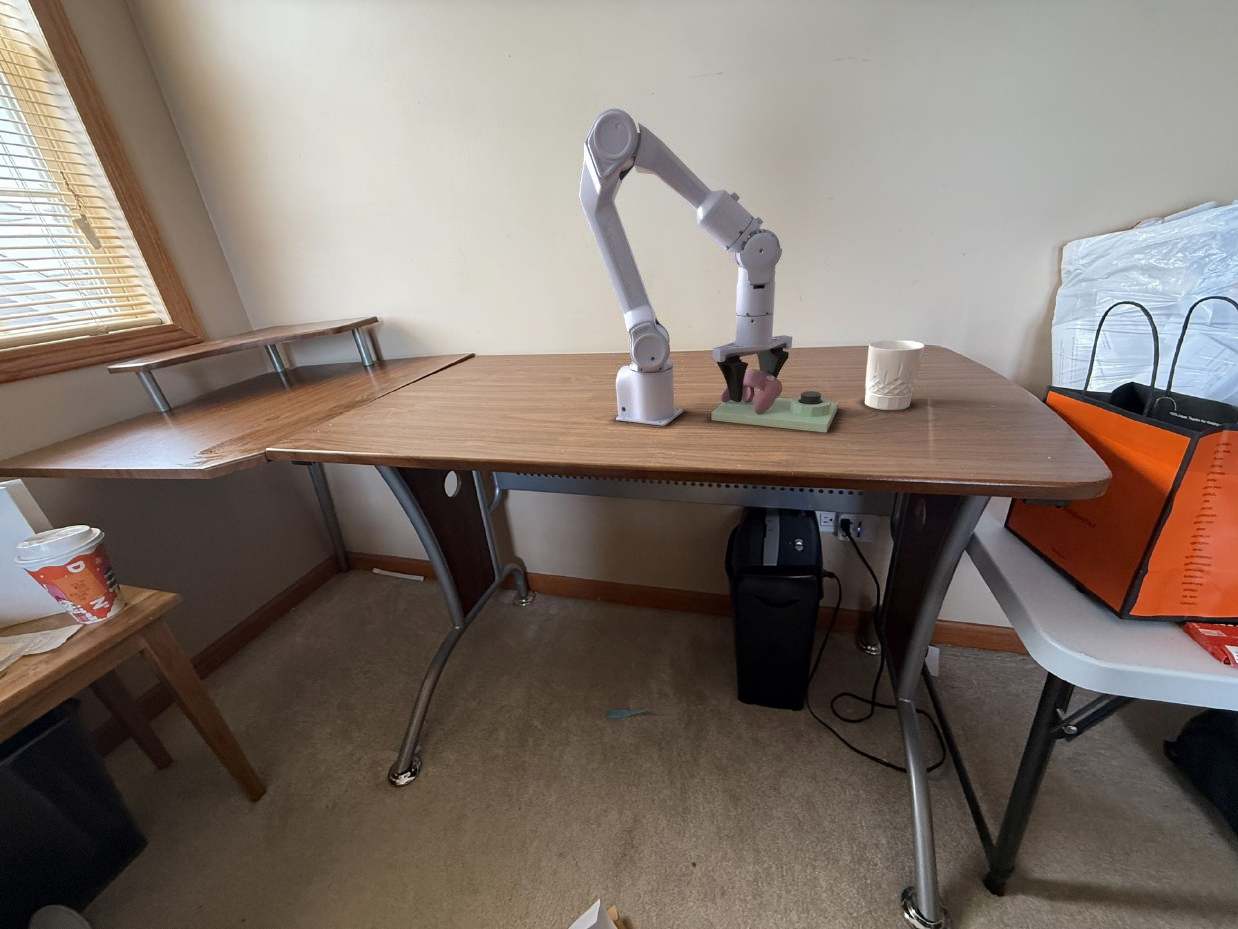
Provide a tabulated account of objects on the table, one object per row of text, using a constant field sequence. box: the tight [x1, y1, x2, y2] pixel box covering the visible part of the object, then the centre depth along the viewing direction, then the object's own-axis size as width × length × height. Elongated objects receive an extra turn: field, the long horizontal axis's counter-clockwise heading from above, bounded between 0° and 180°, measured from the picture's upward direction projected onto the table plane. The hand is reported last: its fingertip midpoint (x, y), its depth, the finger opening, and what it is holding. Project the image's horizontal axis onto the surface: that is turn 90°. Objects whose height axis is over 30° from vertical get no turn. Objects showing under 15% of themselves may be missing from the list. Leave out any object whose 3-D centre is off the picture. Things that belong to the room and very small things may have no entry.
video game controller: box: [720, 368, 783, 414], centre depth 80 cm, size 10×5×7 cm, turn 29°
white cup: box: [864, 339, 926, 411], centre depth 79 cm, size 8×8×10 cm
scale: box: [711, 395, 839, 433], centre depth 79 cm, size 18×11×3 cm, turn 60°
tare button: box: [800, 390, 822, 405], centre depth 76 cm, size 3×3×2 cm
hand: (751, 397), depth 81 cm, fingers closed on video game controller, 6 cm apart
